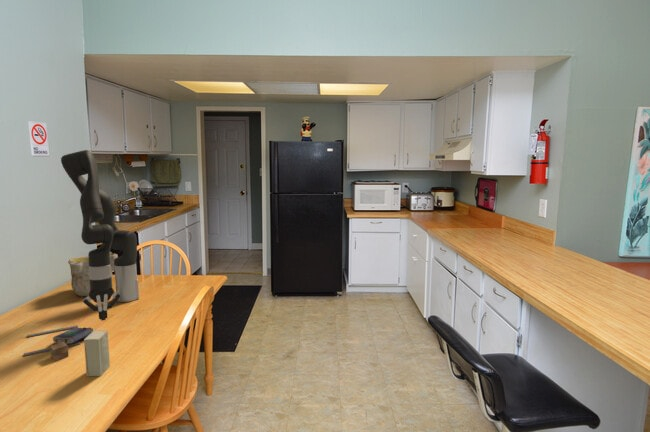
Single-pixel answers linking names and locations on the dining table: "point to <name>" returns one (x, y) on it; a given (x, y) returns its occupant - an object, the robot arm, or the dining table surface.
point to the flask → (72, 335)
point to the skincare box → (96, 353)
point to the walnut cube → (59, 351)
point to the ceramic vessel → (84, 274)
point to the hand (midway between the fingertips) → (103, 319)
